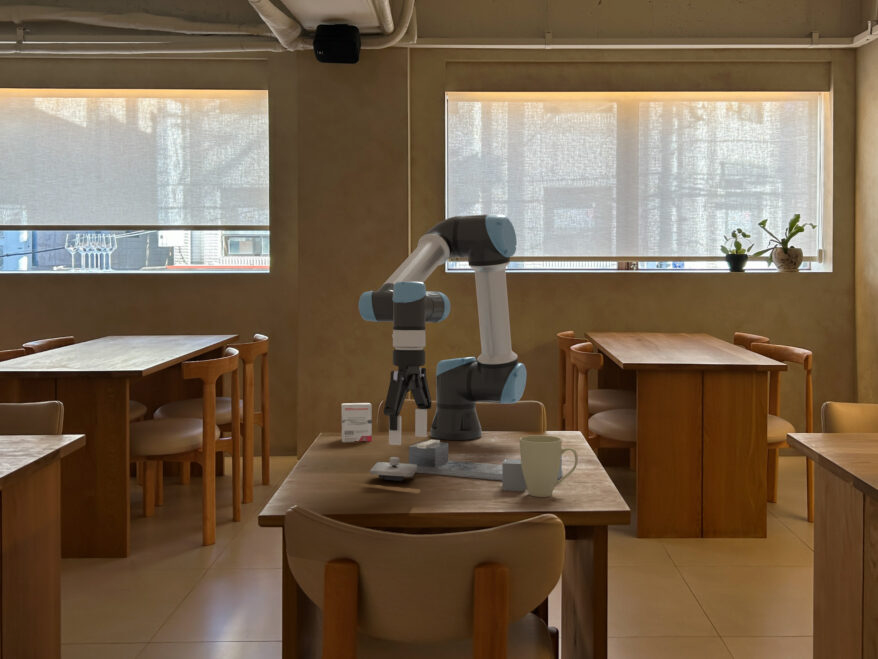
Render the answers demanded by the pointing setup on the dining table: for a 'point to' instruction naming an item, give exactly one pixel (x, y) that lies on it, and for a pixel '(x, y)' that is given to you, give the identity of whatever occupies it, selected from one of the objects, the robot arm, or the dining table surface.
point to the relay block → (512, 475)
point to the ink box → (356, 422)
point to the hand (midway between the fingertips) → (408, 440)
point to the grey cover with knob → (393, 469)
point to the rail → (452, 463)
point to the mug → (542, 463)
